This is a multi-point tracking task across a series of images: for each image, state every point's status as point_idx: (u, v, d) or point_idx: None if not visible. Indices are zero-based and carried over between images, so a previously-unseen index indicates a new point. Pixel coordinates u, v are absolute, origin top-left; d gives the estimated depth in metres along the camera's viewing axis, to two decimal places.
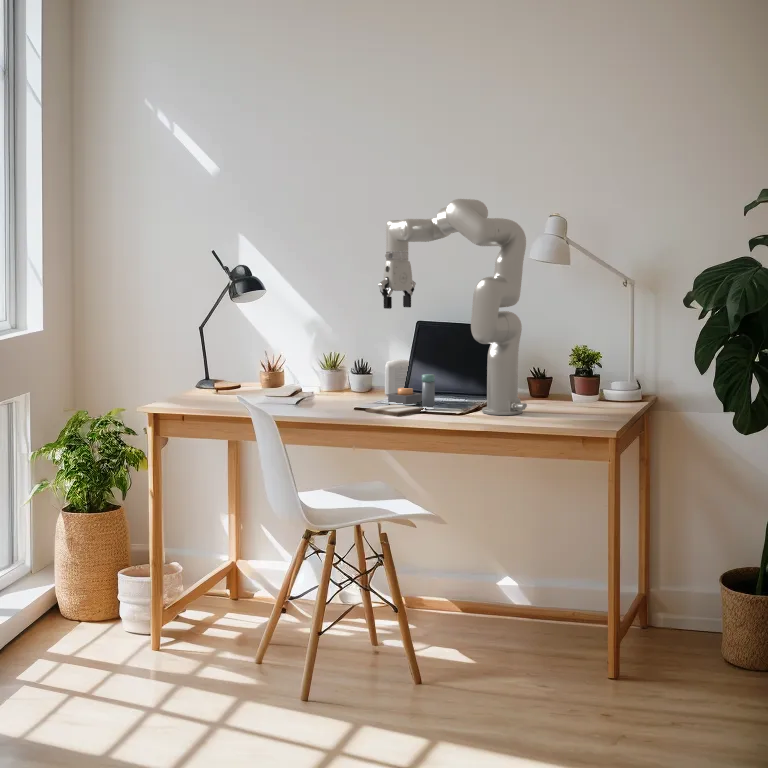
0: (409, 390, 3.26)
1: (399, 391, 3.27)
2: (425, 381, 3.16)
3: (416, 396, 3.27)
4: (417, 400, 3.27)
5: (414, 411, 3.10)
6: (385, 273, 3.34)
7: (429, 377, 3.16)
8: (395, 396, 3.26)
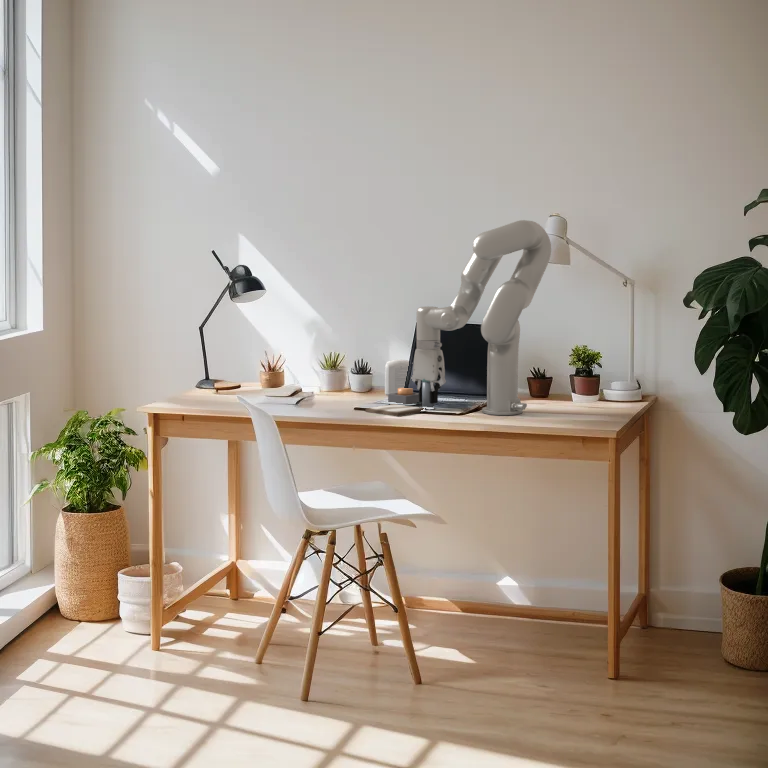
0: (409, 390, 3.26)
1: (399, 391, 3.27)
2: (425, 381, 3.16)
3: (416, 396, 3.27)
4: (417, 400, 3.27)
5: (414, 411, 3.10)
6: (437, 363, 3.13)
7: None
8: (395, 396, 3.26)
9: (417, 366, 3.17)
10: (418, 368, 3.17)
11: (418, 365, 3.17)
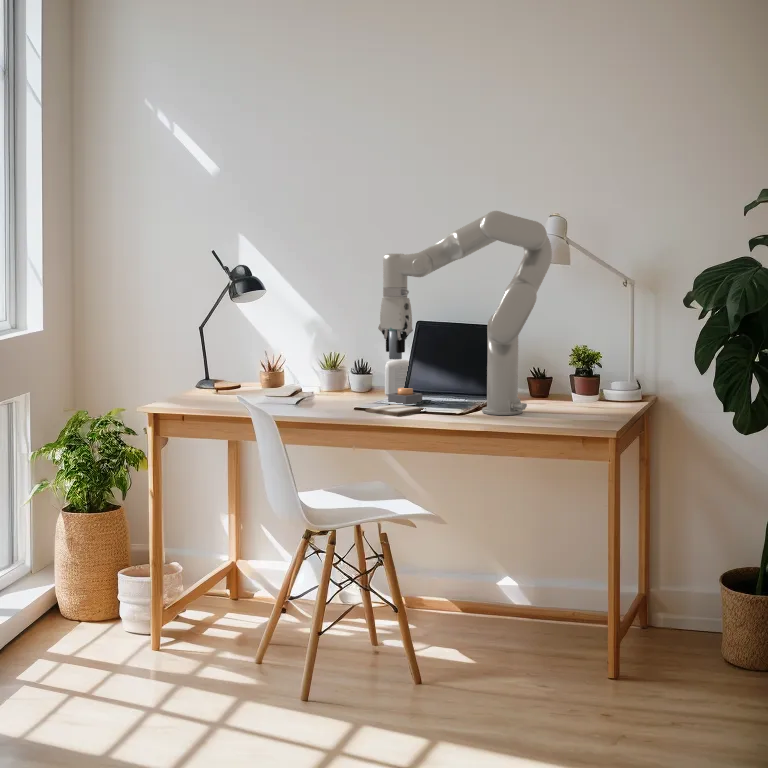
0: (409, 390, 3.26)
1: (399, 391, 3.27)
2: (392, 330, 3.09)
3: (416, 396, 3.27)
4: (417, 400, 3.27)
5: (414, 411, 3.10)
6: (404, 311, 3.06)
7: None
8: (395, 396, 3.26)
9: (384, 315, 3.10)
10: (385, 317, 3.10)
11: (385, 314, 3.10)
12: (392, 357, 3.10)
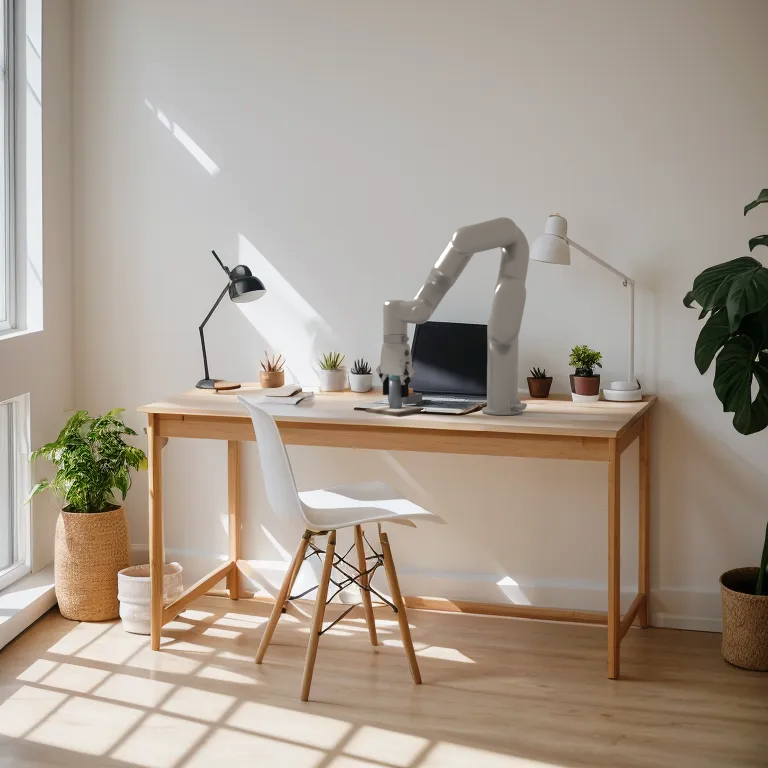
0: (409, 390, 3.26)
1: None
2: (392, 379, 3.11)
3: (416, 396, 3.27)
4: (417, 400, 3.27)
5: (414, 411, 3.10)
6: (404, 358, 3.08)
7: None
8: None
9: (384, 361, 3.12)
10: (385, 363, 3.12)
11: (385, 359, 3.12)
12: (392, 406, 3.12)
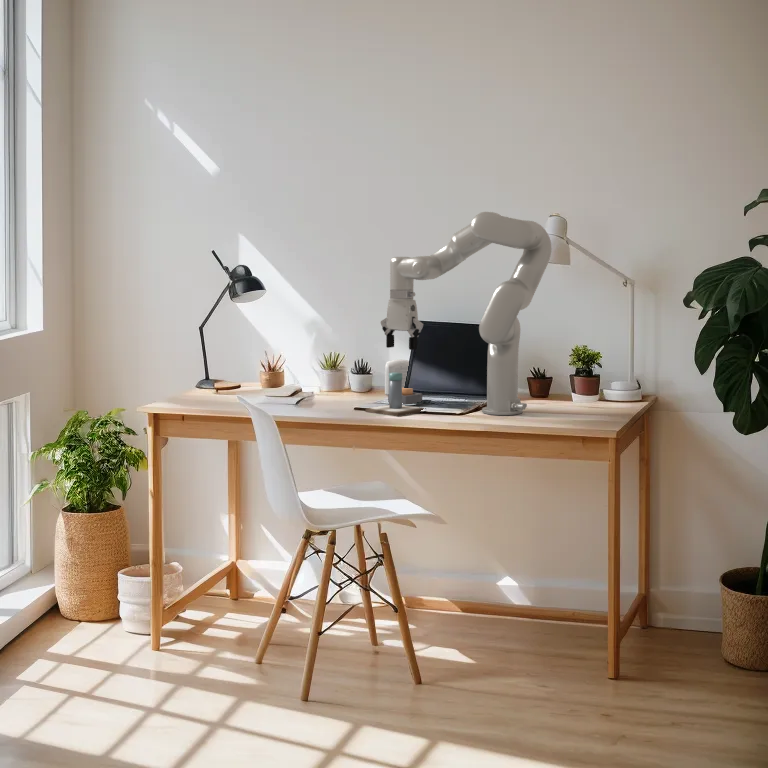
0: (409, 390, 3.26)
1: None
2: (392, 379, 3.11)
3: (416, 396, 3.27)
4: (417, 400, 3.27)
5: (414, 411, 3.10)
6: (411, 313, 3.17)
7: (396, 375, 3.10)
8: None
9: (390, 316, 3.21)
10: (391, 318, 3.20)
11: (391, 315, 3.20)
12: (392, 406, 3.12)
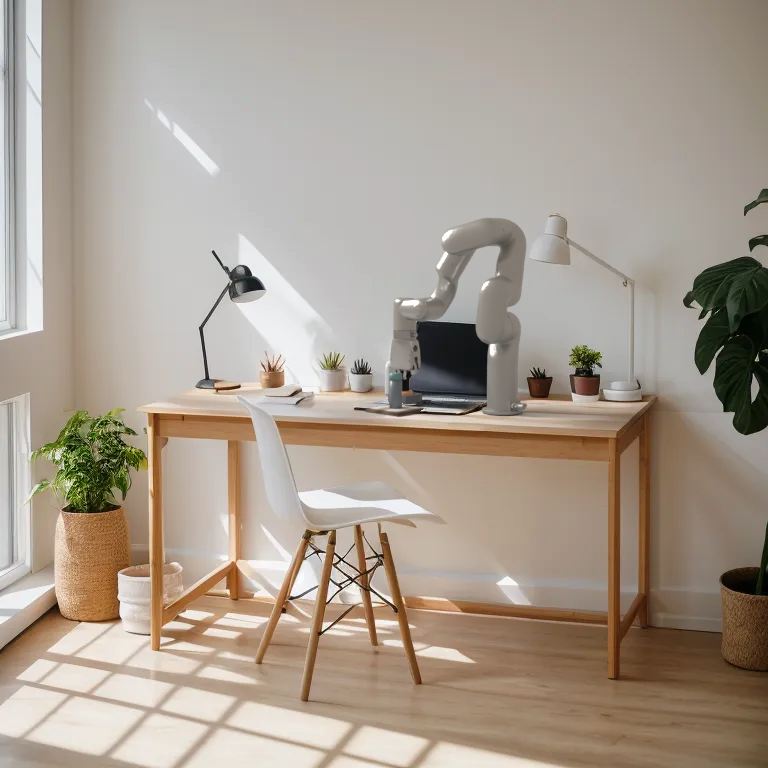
0: (409, 392, 3.26)
1: None
2: (392, 379, 3.11)
3: (416, 396, 3.27)
4: (417, 400, 3.27)
5: (414, 411, 3.10)
6: (413, 353, 3.23)
7: (396, 375, 3.11)
8: None
9: (394, 355, 3.27)
10: (395, 357, 3.27)
11: (395, 354, 3.27)
12: (392, 406, 3.12)
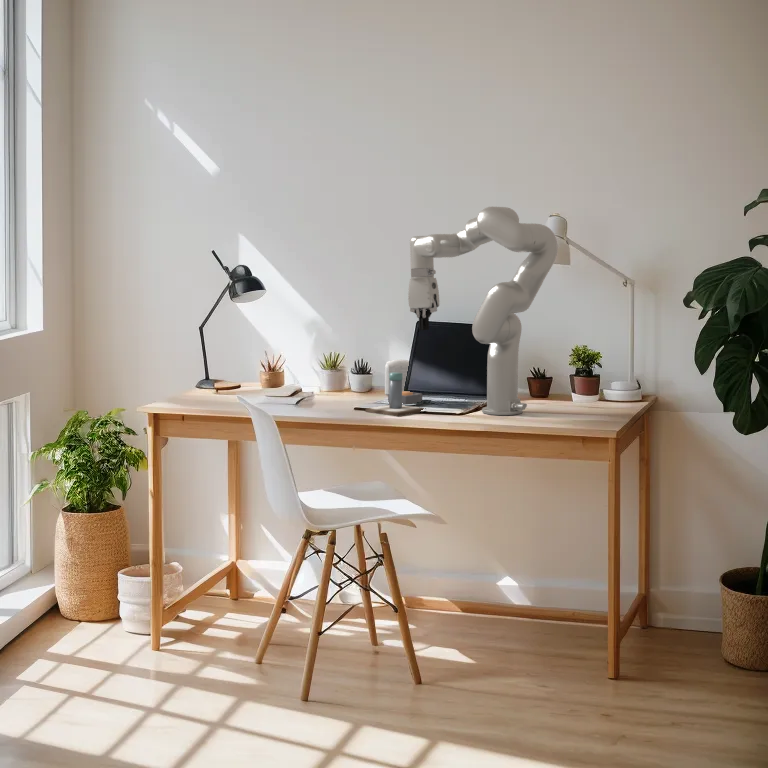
0: (409, 394, 3.26)
1: None
2: (392, 379, 3.11)
3: (416, 396, 3.27)
4: (417, 400, 3.27)
5: (414, 411, 3.10)
6: (432, 290, 3.23)
7: (397, 375, 3.10)
8: None
9: (412, 294, 3.27)
10: (413, 296, 3.27)
11: (413, 293, 3.26)
12: (392, 406, 3.12)
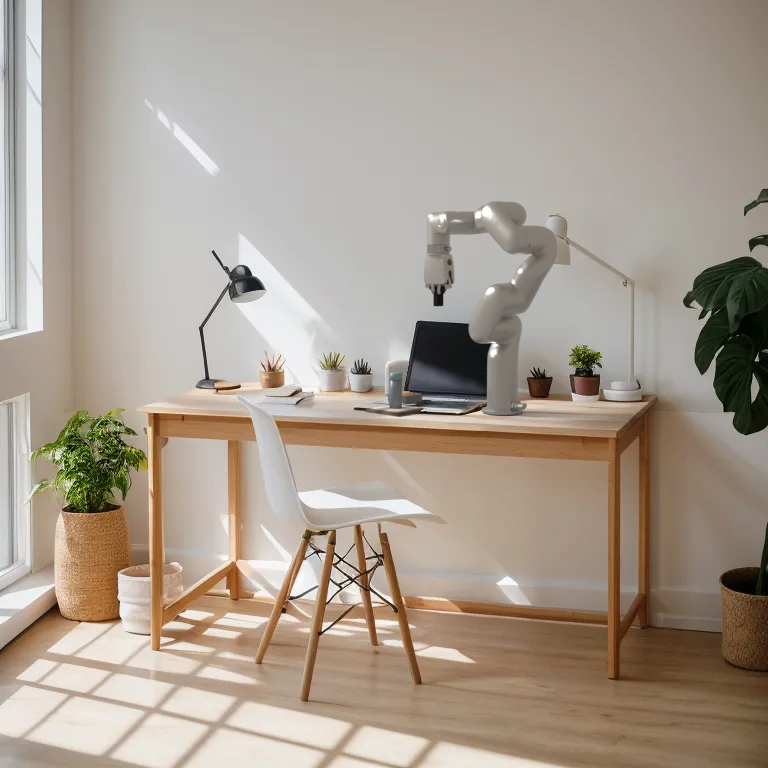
0: (409, 394, 3.26)
1: None
2: (393, 379, 3.11)
3: (416, 396, 3.27)
4: (417, 400, 3.27)
5: (414, 411, 3.10)
6: (447, 267, 3.25)
7: (397, 375, 3.11)
8: None
9: (427, 271, 3.29)
10: (428, 272, 3.29)
11: (428, 269, 3.29)
12: (393, 406, 3.12)
